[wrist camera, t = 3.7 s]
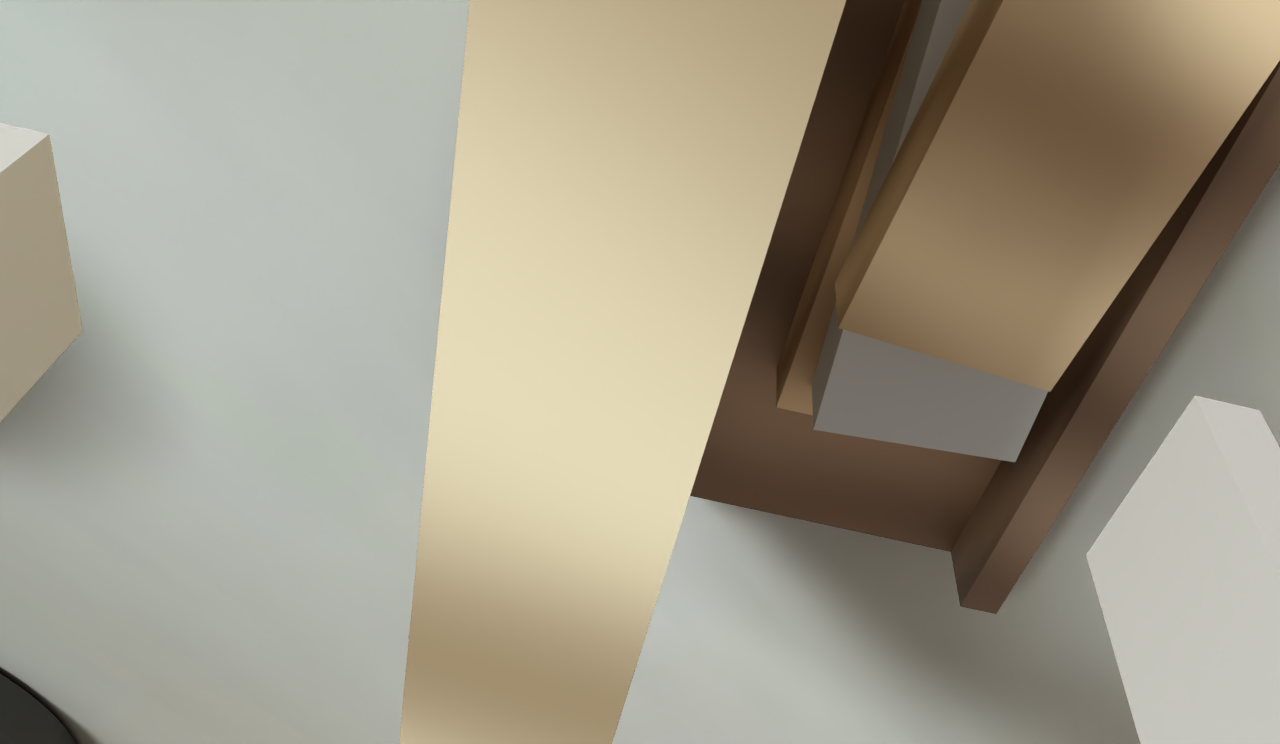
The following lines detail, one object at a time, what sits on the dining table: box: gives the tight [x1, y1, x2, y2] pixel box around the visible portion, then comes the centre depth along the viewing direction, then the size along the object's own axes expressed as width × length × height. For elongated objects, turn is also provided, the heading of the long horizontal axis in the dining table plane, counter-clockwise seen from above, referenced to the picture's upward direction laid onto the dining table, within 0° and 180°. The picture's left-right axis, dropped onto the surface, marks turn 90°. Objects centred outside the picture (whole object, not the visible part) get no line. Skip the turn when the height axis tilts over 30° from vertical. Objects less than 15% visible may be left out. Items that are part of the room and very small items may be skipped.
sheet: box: [399, 0, 846, 744], centre depth 16 cm, size 18×2×16 cm, turn 169°
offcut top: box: [835, 0, 1280, 392], centre depth 18 cm, size 9×4×2 cm, turn 164°
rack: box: [690, 0, 1280, 614], centre depth 22 cm, size 26×16×4 cm, turn 169°
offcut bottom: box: [776, 0, 922, 415], centre depth 22 cm, size 16×5×2 cm, turn 169°
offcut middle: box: [812, 0, 1048, 462], centre depth 21 cm, size 12×5×2 cm, turn 173°
